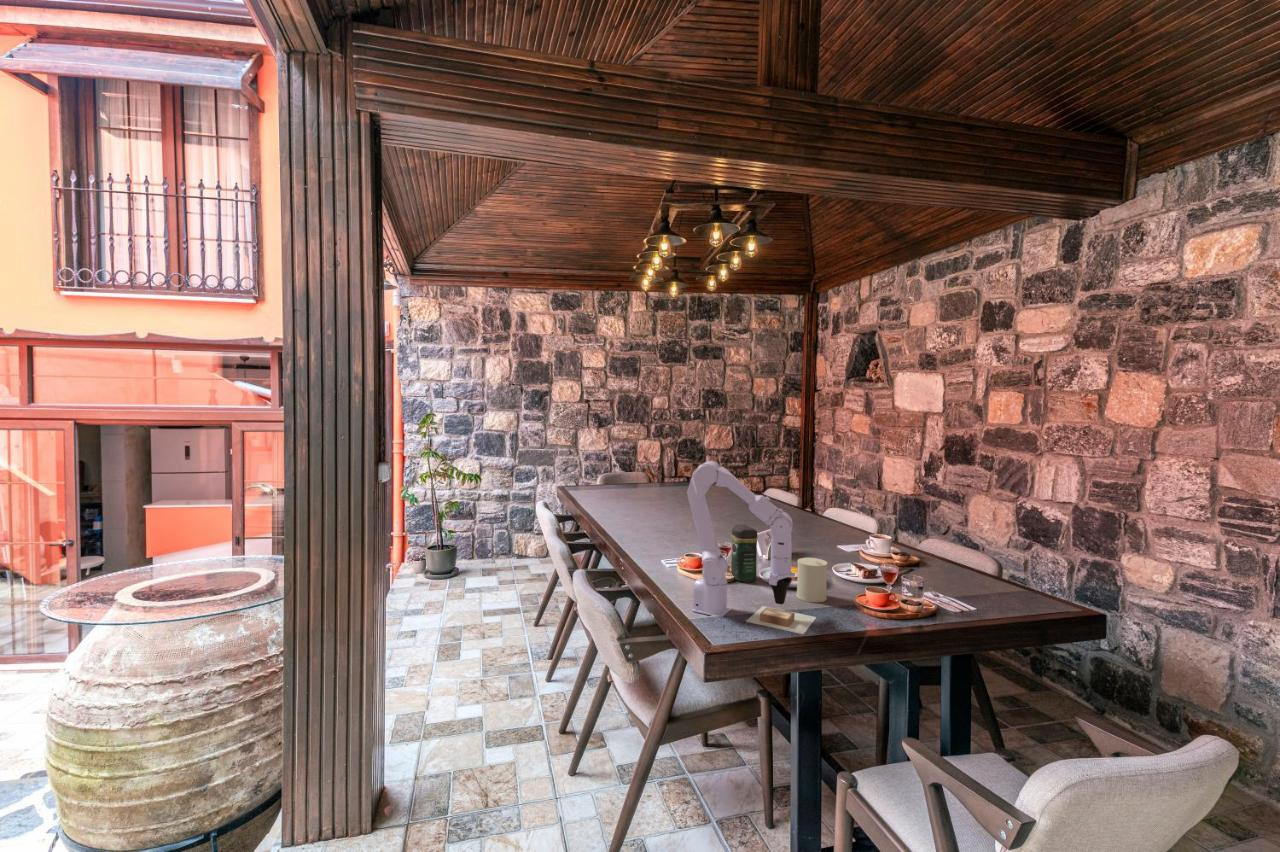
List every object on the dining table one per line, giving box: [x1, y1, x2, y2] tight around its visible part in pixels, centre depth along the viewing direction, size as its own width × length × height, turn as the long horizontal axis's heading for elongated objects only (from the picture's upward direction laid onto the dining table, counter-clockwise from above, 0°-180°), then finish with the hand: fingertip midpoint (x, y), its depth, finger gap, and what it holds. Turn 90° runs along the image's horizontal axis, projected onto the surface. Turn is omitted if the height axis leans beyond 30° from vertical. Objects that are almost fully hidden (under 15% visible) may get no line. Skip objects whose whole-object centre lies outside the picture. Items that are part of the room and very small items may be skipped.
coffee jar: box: [730, 524, 758, 583], centre depth 199 cm, size 10×8×19 cm
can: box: [796, 557, 828, 603], centre depth 181 cm, size 9×9×12 cm
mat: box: [745, 605, 817, 635], centre depth 161 cm, size 16×14×1 cm
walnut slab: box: [760, 606, 796, 627], centre depth 160 cm, size 8×2×6 cm
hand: (779, 603), depth 162 cm, fingers closed
